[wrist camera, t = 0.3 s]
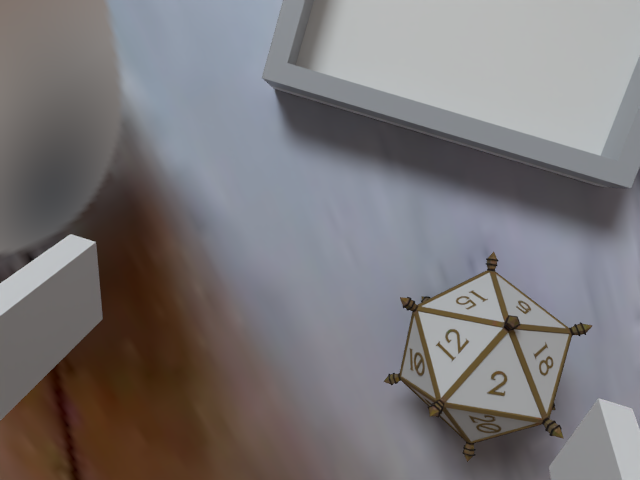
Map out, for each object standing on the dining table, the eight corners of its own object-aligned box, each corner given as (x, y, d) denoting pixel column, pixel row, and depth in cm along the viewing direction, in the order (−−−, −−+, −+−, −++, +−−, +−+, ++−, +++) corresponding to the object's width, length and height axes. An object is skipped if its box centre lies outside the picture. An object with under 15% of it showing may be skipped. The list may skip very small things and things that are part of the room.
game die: (485, 319, 31) (627, 448, 23) (367, 381, 29) (477, 544, 21) (483, 200, 26) (665, 313, 18) (338, 266, 24) (471, 425, 16)
